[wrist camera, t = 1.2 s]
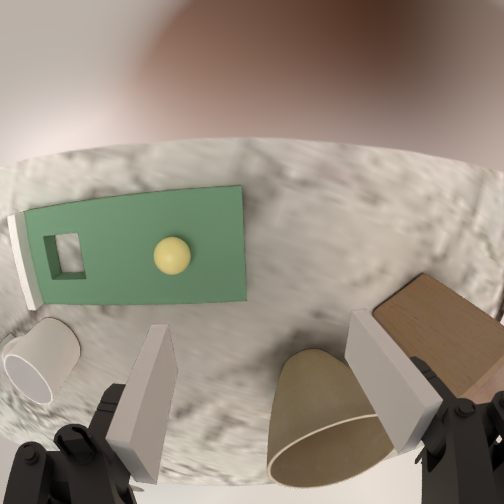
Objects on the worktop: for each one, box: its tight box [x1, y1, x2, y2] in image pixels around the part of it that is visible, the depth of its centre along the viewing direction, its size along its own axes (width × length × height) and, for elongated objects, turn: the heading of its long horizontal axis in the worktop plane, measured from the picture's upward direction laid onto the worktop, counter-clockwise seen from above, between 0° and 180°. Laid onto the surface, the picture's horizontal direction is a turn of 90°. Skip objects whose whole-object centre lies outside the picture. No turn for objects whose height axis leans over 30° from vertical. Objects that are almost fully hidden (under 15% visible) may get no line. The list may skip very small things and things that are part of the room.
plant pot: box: [267, 349, 395, 489], centre depth 29 cm, size 15×15×16 cm
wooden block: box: [373, 274, 504, 405], centre depth 26 cm, size 10×10×20 cm
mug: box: [2, 318, 80, 405], centre depth 28 cm, size 12×8×10 cm
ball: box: [154, 237, 191, 275], centre depth 26 cm, size 4×4×4 cm
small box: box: [0, 333, 15, 376], centre depth 31 cm, size 6×6×5 cm
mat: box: [7, 185, 247, 310], centre depth 28 cm, size 28×12×4 cm, turn 92°
